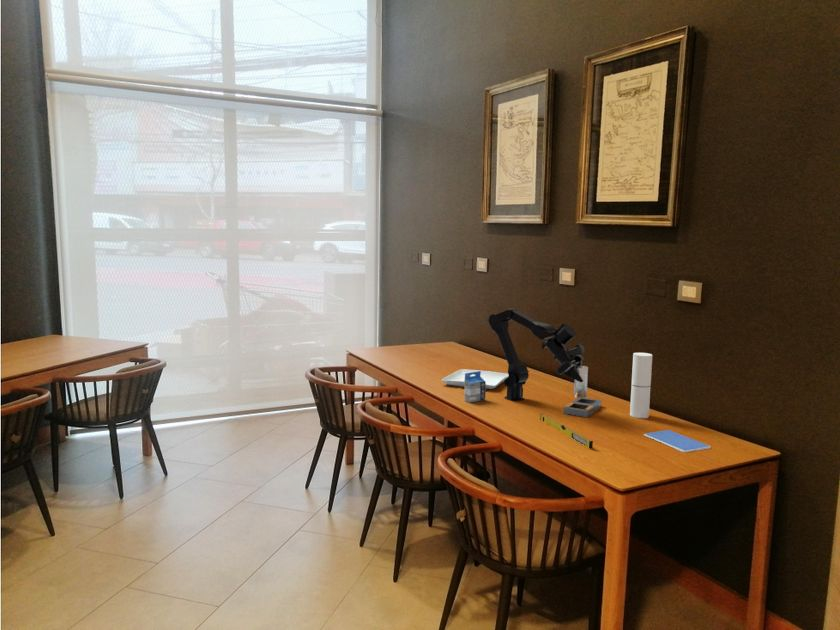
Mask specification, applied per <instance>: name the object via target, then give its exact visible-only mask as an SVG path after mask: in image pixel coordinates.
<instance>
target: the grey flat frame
mask: <svg viewBox="0 0 840 630" xmlns="http://www.w3.org/2000/svg"><path fill="white" fill-rule="evenodd" d="M600 406H601V407H602V400H601V399H595V398H589V397H588V398H587V397H584V398H579V397H576V399H574V400H572V401H571V402H569V403H568V404H567V405H565V406H564V407H563V415H568V414H571V415H570V416H574V415H576V416H575V417H580V416H582V418H586V417H587V418H588V417H590V416H591V415H592V414H593V413H595V412H596V411H597V410H598V409H599V408H601V407H600ZM595 410H596V411H595Z"/></svg>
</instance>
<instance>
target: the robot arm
mask: <svg viewBox="0 0 840 630" xmlns="http://www.w3.org/2000/svg"><path fill="white" fill-rule="evenodd" d="M487 321H488V325H489V326H490V328H491V330H492V331H493V332H494V333H495V334H496V335H497V337H498V340H499V343H500V346H501V348H502V351H503V354H504V356H505V360H506V362H507V364H508V367H507V368H508V369H507V374H508V375H509V376H508V377H507V378H506V379H505V380H504V381H503V383H504V384H503V385H504V386H506V396H504V399H507V400H509V401H512V402H516V401H522V400H525V397H523V396H524V387H523V385H526V382H527V380H528V379H529V376H530V374H529V373H530V371H529V370H528V368H527V364H526V363H522V362H521V361H520V358H519V356H518V355H517V351H516V349H515V347H514V346H515V345H514V343H513V340H512V338H511V335H510V333H509V325H510V323H509V322H510V321H514V322H516V323H517V324H518V325H521V326H522V327H524V328H526V329H528V330H529V331H531V333H532V334H533V336H535V338H537V339H539V340H540V341H541V340H546V341H542V342H541V350H544V349H546V348H547V349H548V350H549V351H550V353H551V354H552V355H553V359H554V360H557V362H559V364H560V365H559V366H557V367H556V373H557V374H558V375H559V376H560V375H564V376H567V377H569V378H570V379H573V380H574V381H575V380H577V381H579V382H583V379H582V378H581V376H580V375H579V373H578V372H577V370H576V366H583V360H584V358H585V357H584V356H583V354H586V351H585V347H584V345H581V344H580V343H578V344H575V346H574V348H571V349H570V348H569V347H566V346H565V345H567V344H568V343H569V342H570V341H571V340H572V339H574V338H575V336H577V333H576V331H575V329H574V328H573V327H571V326H570V325H568V324H567V322H565V323H562V324H560V326H559V327H558V328H555V327H554V326H553V325H552V324H548V323H546V322H540V321H538V320H536V319H533V318H531V317H530V316H529V315H527V314H525V313H523V312H521V311H519V310H518V309H517V308H508V309H507V310H504V311H501V312H498V313H493V314H491V315H489V316H488V319H487Z"/></svg>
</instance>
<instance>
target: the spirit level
mask: <svg viewBox="0 0 840 630" xmlns="http://www.w3.org/2000/svg"><path fill="white" fill-rule="evenodd" d="M539 415H540V416H539V417H540V420H541V421H540V420H539V421H540V422H542V421H543V422H542V423H544V422H545V423H544V424H546V423H547V424H549V425H550V426H549V425H548V426H549V427H551V426H552V427H554V428H555V430H556V429H557V430H556V431H557V432H559V431H560V433H561V432H562V434H563V433H564V434H566V435H568V436H569V437H568V436H567V437H568V438H570V437H571V438H573V439H575V440H576V441H575V440H574V441H575V442H577V441H578V442H580V443H581V445H582V444H584V445H586V446H587V447H589V448H592V449H593V446H594V445H593V444H594V441H593V440H591V439H590V438H588V437H585V436H584V435H582V434H580V433H579V432H577V431H575V430H573V429H571V428H569V427H566V426H565V425H564V424H563V423H561V422H559V421H557V420H555V419H554V418H552V417H549V416H548V415H546V414H544V413H540V414H539ZM547 424H546V425H547ZM552 427H551V428H552ZM554 428H553V429H554ZM564 434H563V435H564ZM566 435H565V436H566ZM571 438H570V439H571ZM573 439H572V440H573ZM578 442H577V443H578ZM580 443H579V444H580ZM587 447H586V448H587ZM589 448H588V449H589Z"/></svg>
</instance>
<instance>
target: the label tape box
mask: <svg viewBox="0 0 840 630" xmlns="http://www.w3.org/2000/svg"><path fill="white" fill-rule="evenodd" d="M481 371H482V370H481ZM481 371H478V372H471V373H465V387H464V401H465V402H466V403H469V404H471V403H475V402H482V401H485V400H486V389H485V386H486V382H485V381H484V380H483V379H482V378H481V377H480V374H481ZM472 374H473V375H475V376H471V377H470V375H472Z"/></svg>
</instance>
